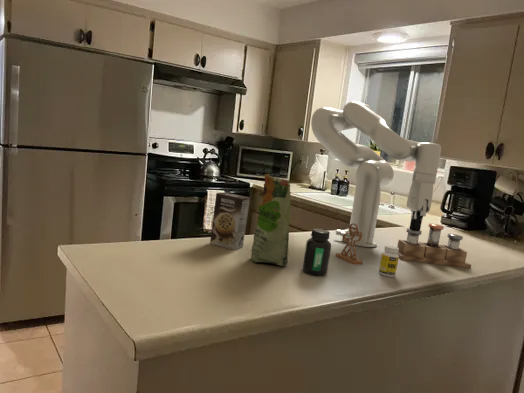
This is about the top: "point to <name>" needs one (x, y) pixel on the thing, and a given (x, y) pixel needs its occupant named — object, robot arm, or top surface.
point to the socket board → (432, 254)
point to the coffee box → (229, 220)
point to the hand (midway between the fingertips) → (414, 230)
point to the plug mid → (434, 235)
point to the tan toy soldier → (343, 254)
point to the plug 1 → (413, 236)
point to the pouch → (273, 223)
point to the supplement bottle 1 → (317, 253)
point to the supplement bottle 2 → (389, 261)
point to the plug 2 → (454, 241)
